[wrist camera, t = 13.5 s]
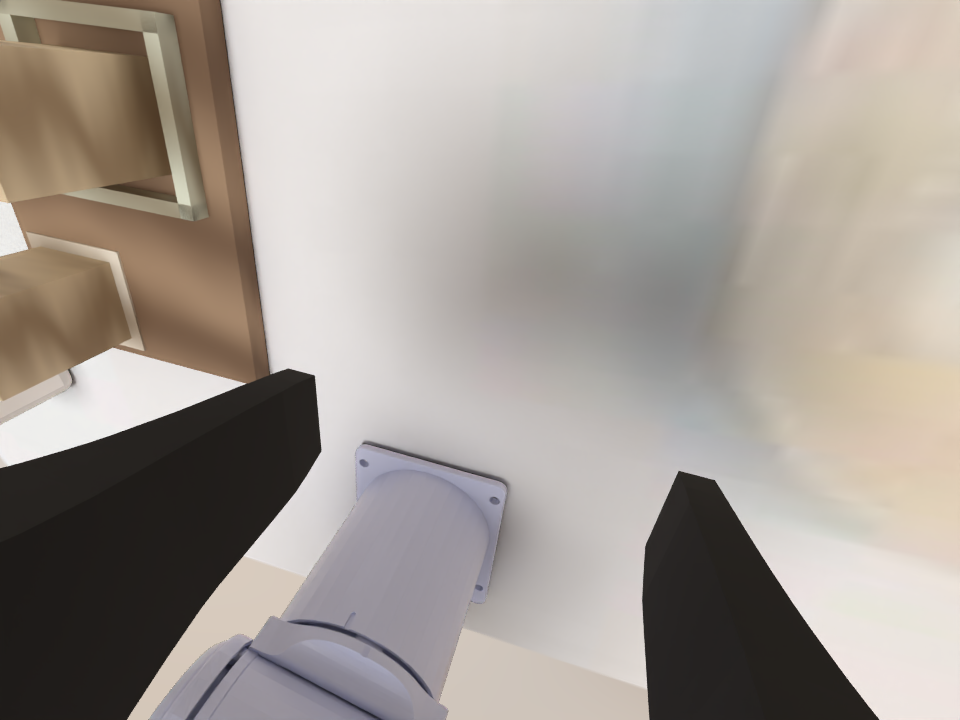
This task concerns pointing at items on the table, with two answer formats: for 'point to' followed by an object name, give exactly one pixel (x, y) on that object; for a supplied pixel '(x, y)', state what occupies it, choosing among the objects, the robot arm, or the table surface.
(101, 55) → the maple peg
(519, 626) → the table surface
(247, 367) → the board
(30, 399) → the eye dropper bottle
